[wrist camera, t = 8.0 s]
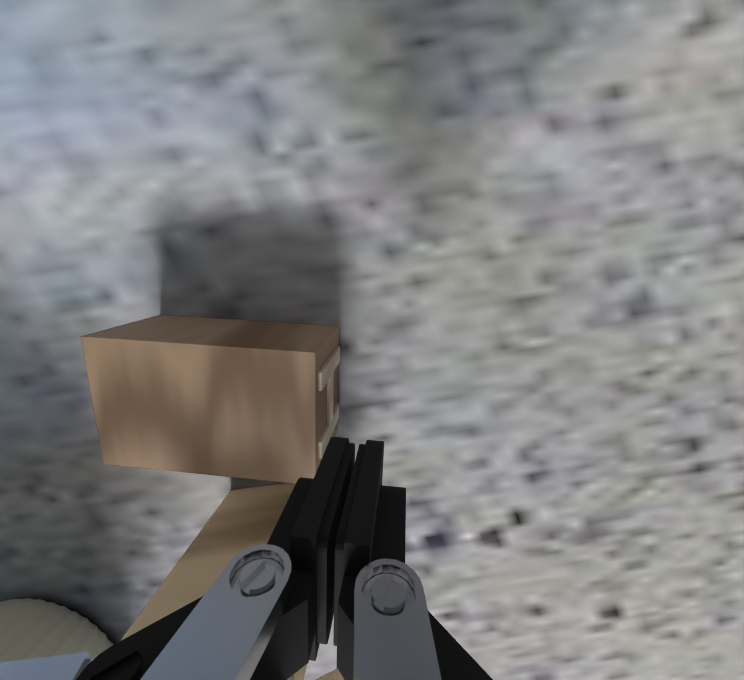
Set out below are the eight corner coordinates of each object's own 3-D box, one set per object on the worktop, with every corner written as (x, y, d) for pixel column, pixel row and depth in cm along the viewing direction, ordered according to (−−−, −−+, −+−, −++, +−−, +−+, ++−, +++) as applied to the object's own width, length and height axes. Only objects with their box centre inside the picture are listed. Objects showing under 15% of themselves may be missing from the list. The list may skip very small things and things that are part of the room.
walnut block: (342, 325, 18) (162, 314, 19) (318, 352, 14) (80, 336, 14) (340, 428, 20) (174, 413, 21) (318, 486, 15) (103, 463, 16)
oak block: (230, 490, 22) (86, 686, 12) (307, 480, 21) (219, 680, 11) (259, 568, 23) (150, 801, 13) (332, 561, 22) (273, 803, 12)
